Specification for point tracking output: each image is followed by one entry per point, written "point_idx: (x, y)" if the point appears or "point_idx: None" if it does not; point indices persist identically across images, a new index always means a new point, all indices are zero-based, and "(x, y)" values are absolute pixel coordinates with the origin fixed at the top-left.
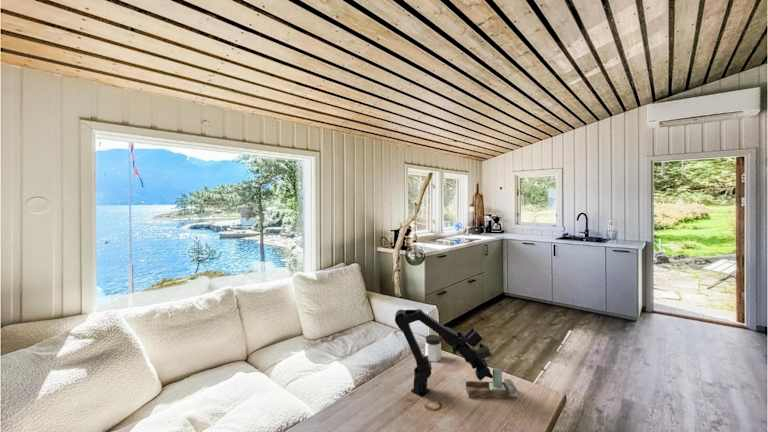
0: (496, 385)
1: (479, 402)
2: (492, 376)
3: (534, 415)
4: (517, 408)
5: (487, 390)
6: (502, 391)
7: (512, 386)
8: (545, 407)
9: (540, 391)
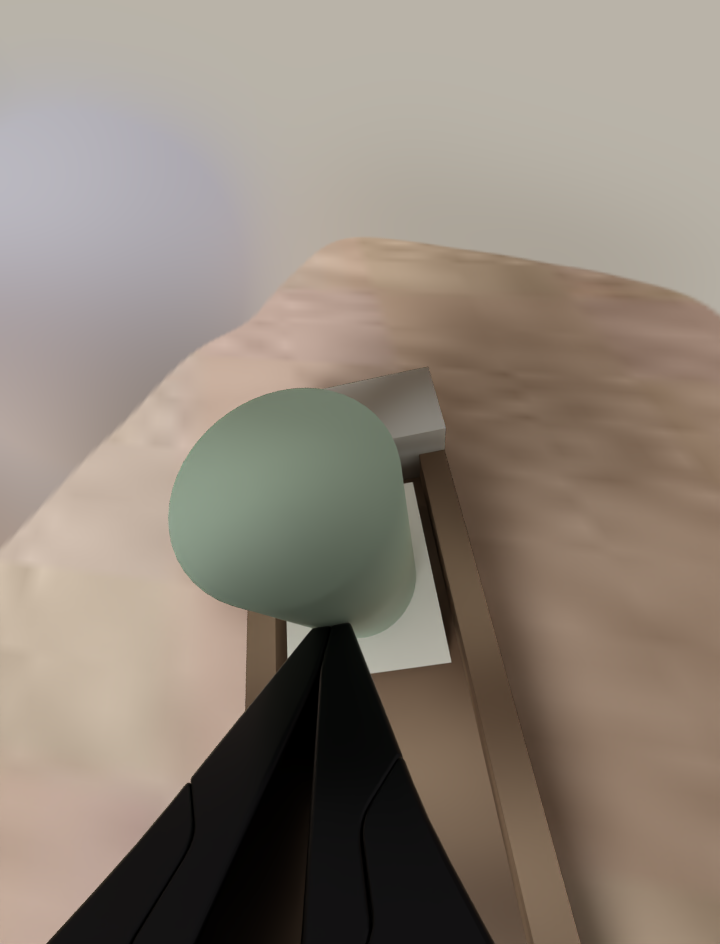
0: (411, 583)
1: (646, 890)
2: (353, 635)
3: (603, 341)
4: (561, 438)
5: (505, 749)
6: (460, 522)
7: (389, 398)
8: (465, 287)
9: (284, 301)
